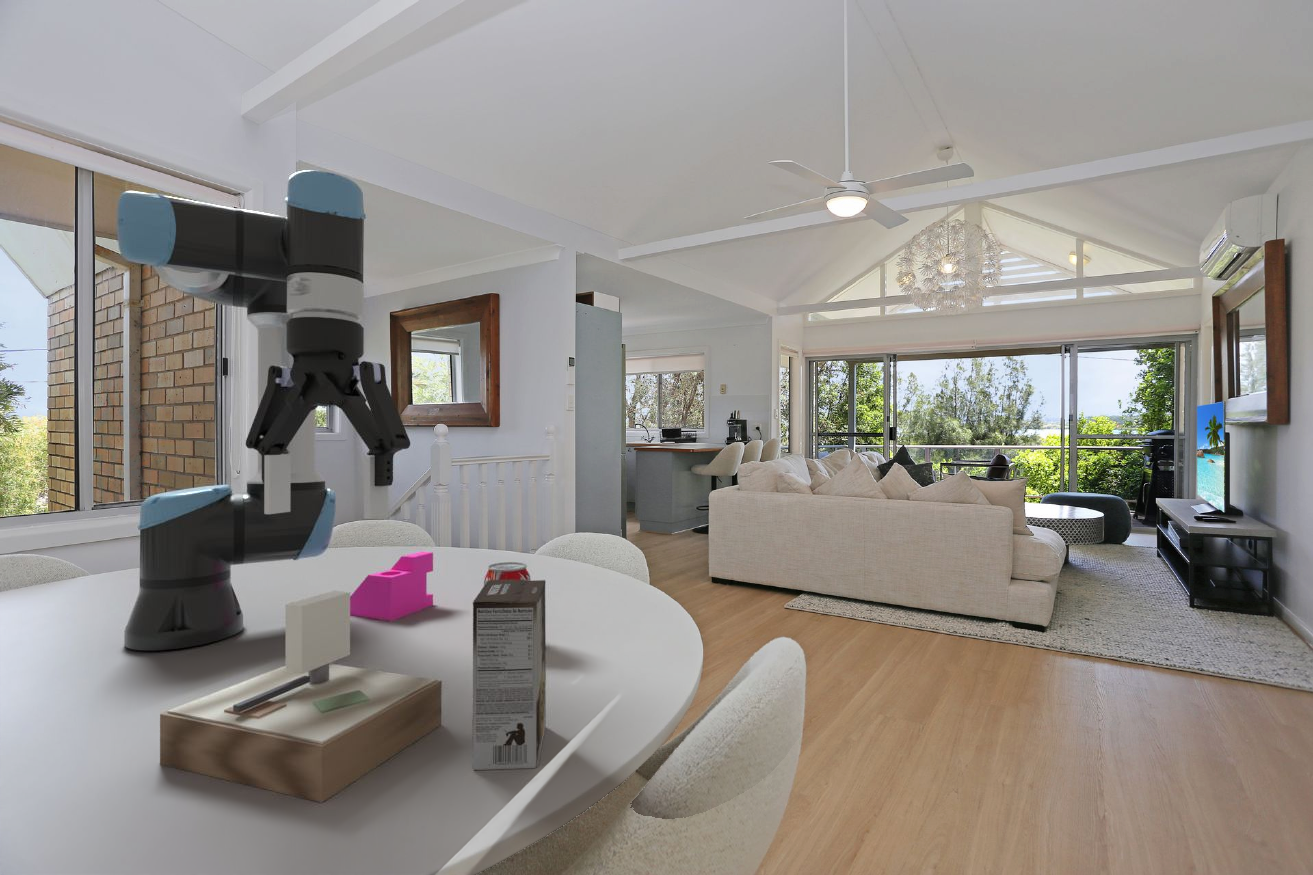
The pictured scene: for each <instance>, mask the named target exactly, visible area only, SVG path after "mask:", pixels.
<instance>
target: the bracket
mask: <svg viewBox="0 0 1313 875" xmlns="http://www.w3.org/2000/svg"><path fill="white" fill-rule="evenodd" d="M433 571H434V552H431V551H430V552H429V551H418V552H413V553H411V554H406V555H402V556H401V557H400V558H399V559H398V560H397V561H396V562H395V563H394V565H393V566H392V567H391V568H390V569H387V570H384V571H380V572H376V573H372V574H368V575H366V577H365V578H364V580H363V581H362V582H361V583H360V584H359V585H358V587H357V588H356V589H355V590H354V592H353V593H352V594H350V616H356V617H363V618H370V619H371V618H372V619H377V620H384V621H394V620H396V619H399V618H401V617H405V616H406V615H410V614H412V613H415V612H418V611H420V610H423V609H426V608H428V607H432V606H433V605H434V593H427V589H428V588H427V585H428V584H427V582H428V581H427V574H428V573H431V572H433Z"/></svg>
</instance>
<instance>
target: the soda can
mask: <svg viewBox="0 0 1313 875" xmlns="http://www.w3.org/2000/svg"><path fill="white" fill-rule="evenodd" d="M527 568H528V567H527V563H523V562H516V561H515V562H514V561H507V562H496V563H492V564H489V565H488V566H487V569H488V570H487V572H486V574H485V576H484V578H483V587H484V586H485V584H486V583H487V581H489V580H527V581H532V580H531V575H530V572H529V571H528V570H527Z"/></svg>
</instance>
